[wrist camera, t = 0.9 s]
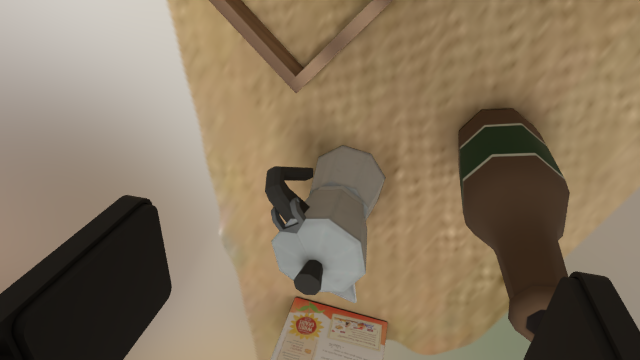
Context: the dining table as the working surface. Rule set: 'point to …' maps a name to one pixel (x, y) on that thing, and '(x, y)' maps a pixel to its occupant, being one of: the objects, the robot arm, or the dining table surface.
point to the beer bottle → (515, 208)
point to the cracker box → (329, 334)
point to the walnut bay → (277, 55)
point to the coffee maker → (325, 221)
